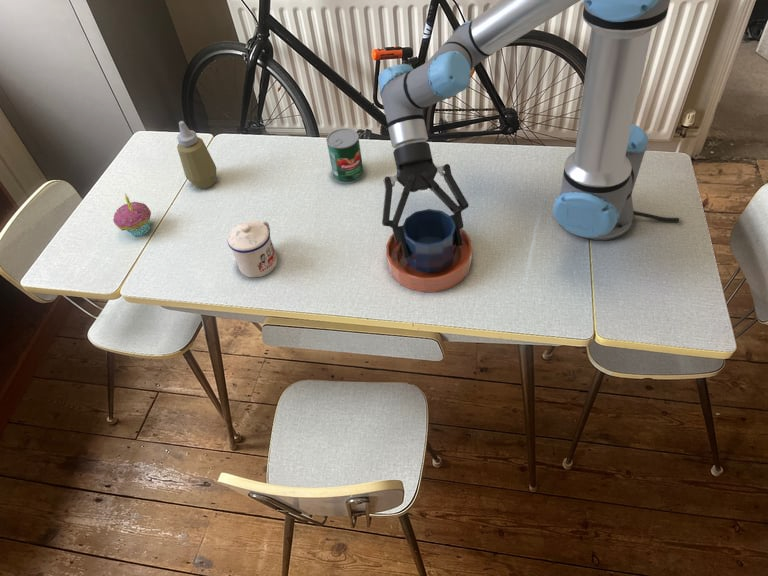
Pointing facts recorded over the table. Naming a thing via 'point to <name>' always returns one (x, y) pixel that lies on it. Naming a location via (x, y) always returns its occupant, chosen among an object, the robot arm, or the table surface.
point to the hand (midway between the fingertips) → (433, 251)
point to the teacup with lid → (253, 248)
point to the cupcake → (133, 218)
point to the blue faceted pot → (430, 240)
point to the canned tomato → (345, 155)
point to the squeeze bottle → (195, 158)
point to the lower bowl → (423, 279)
